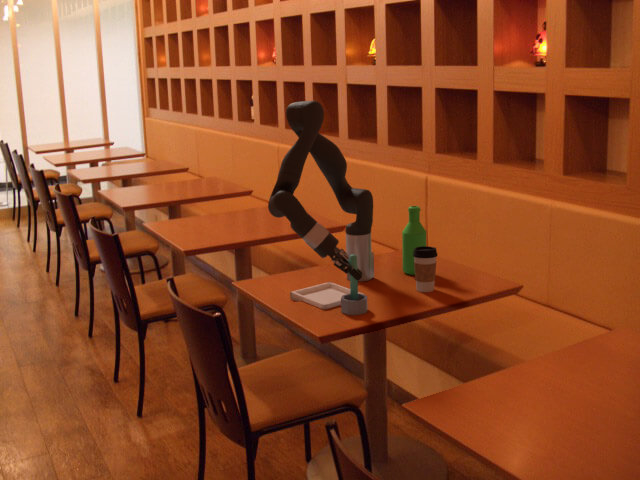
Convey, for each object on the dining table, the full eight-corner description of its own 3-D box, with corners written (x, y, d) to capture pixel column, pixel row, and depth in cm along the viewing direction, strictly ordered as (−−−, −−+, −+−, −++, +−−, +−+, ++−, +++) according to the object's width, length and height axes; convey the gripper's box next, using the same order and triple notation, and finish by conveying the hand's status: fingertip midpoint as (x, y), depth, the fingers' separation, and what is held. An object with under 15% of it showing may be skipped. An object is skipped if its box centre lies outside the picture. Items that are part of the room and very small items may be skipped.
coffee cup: (422, 294, 266) (422, 252, 263) (408, 288, 274) (407, 246, 270) (442, 290, 270) (442, 248, 267) (428, 284, 277) (428, 243, 274)
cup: (356, 307, 256) (355, 291, 254) (372, 314, 249) (372, 297, 248) (336, 313, 251) (336, 297, 250) (352, 319, 245) (352, 303, 243)
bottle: (426, 269, 297) (426, 204, 291) (426, 275, 288) (426, 208, 282) (402, 269, 298) (401, 204, 292) (402, 275, 289) (402, 209, 283)
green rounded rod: (354, 296, 251) (353, 254, 247) (359, 298, 249) (358, 255, 245) (349, 298, 249) (347, 255, 246) (353, 299, 247) (352, 256, 244)
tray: (330, 288, 277) (329, 281, 276) (364, 301, 262) (364, 294, 261) (290, 298, 267) (290, 291, 266) (324, 312, 252) (323, 305, 252)
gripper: (326, 236, 238) (368, 275, 239) (330, 226, 251) (369, 262, 253) (309, 254, 239) (351, 292, 241) (314, 242, 253) (353, 278, 255)
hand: (360, 276), depth 247 cm, fingers closed on green rounded rod, 2 cm apart
